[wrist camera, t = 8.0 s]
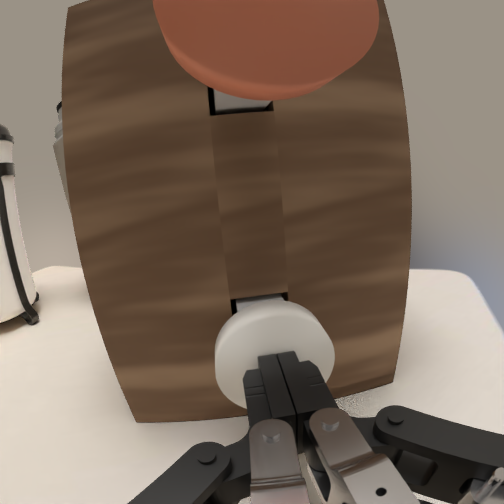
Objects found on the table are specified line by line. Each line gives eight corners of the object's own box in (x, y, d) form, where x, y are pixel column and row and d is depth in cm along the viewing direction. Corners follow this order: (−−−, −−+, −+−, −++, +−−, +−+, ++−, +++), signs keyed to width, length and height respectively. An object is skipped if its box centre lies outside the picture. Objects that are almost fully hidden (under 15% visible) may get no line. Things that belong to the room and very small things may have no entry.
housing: (392, 382, 19) (380, -10, 12) (136, 422, 17) (68, 7, 10) (329, 303, 32) (313, 55, 25) (161, 326, 31) (127, 71, 23)
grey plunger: (331, 399, 13) (336, 306, 11) (224, 418, 12) (205, 326, 11) (277, 291, 26) (273, 233, 24) (217, 299, 25) (209, 240, 24)
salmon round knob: (396, 91, 5) (354, -65, 4) (154, 96, 5) (156, -70, 4) (276, 139, 18) (268, 67, 17) (196, 147, 18) (190, 73, 17)
